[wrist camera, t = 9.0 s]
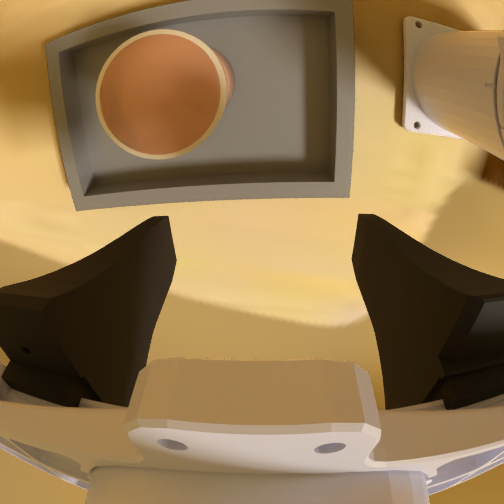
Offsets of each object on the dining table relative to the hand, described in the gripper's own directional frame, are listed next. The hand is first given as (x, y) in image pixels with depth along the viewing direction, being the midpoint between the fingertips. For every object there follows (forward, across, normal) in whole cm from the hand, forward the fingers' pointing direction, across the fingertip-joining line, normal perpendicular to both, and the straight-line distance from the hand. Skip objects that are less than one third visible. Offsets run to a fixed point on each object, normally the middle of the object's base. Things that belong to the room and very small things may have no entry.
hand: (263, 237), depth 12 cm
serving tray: (+9, +4, -4) cm, 11 cm away
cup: (+9, +4, -6) cm, 11 cm away
